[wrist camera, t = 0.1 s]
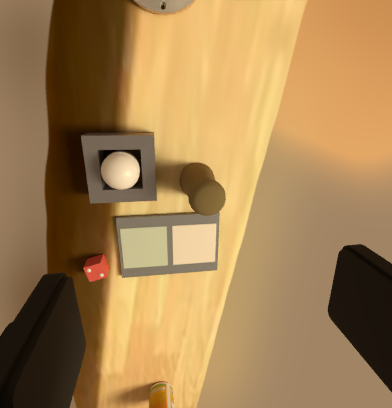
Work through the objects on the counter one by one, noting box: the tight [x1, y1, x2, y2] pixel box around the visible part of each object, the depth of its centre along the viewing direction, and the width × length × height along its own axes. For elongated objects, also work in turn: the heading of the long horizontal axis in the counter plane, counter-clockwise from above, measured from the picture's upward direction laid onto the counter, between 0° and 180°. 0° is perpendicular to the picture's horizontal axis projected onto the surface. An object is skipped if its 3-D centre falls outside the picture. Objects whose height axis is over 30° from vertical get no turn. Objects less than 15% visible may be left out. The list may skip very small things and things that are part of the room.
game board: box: [116, 212, 219, 278], centre depth 49 cm, size 12×18×1 cm, turn 89°
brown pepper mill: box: [180, 163, 226, 216], centre depth 41 cm, size 6×6×11 cm
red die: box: [83, 254, 110, 282], centre depth 47 cm, size 3×3×3 cm
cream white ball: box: [101, 151, 140, 190], centre depth 39 cm, size 5×5×5 cm
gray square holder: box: [81, 132, 157, 203], centre depth 41 cm, size 10×10×4 cm
